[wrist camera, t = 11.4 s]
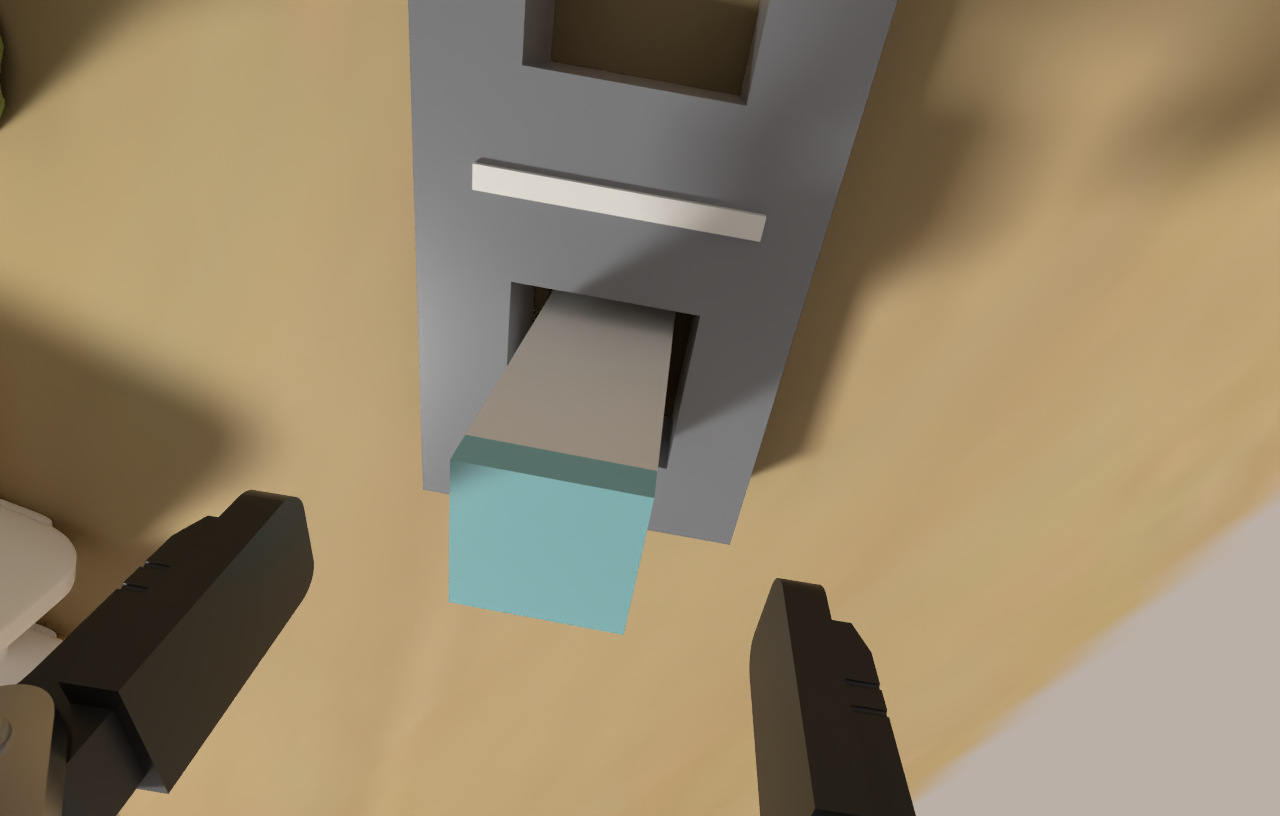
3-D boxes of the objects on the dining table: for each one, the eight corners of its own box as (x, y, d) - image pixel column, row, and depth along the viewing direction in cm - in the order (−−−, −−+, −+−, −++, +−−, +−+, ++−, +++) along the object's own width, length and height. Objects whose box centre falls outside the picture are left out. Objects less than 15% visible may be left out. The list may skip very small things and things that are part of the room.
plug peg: (561, 276, 19) (450, 459, 11) (677, 298, 19) (654, 498, 11) (551, 377, 21) (448, 602, 13) (656, 397, 21) (623, 634, 13)
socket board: (457, -387, 12) (387, -508, 10) (952, -297, 12) (1022, -392, 10) (455, 438, 23) (420, 493, 20) (726, 487, 23) (729, 549, 20)
